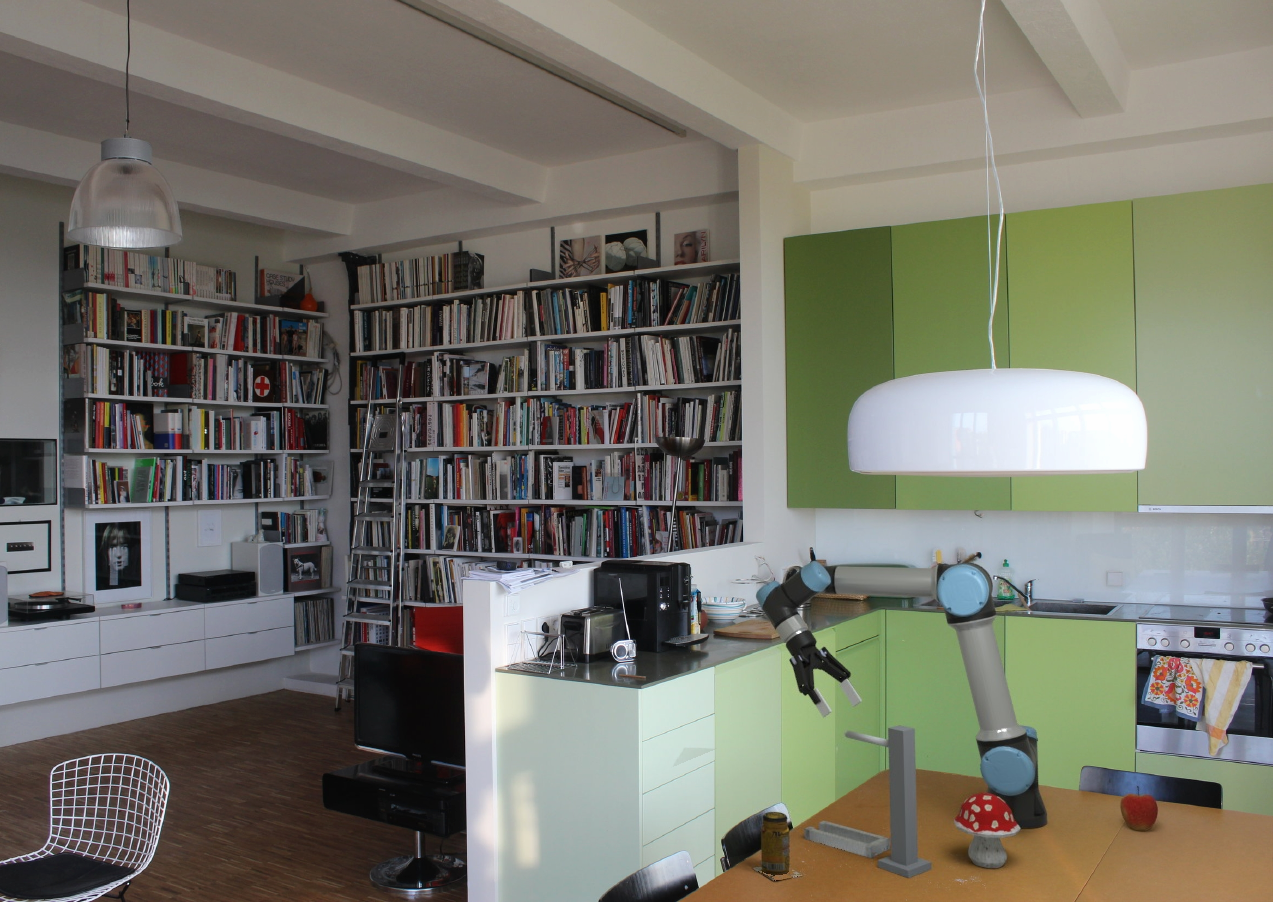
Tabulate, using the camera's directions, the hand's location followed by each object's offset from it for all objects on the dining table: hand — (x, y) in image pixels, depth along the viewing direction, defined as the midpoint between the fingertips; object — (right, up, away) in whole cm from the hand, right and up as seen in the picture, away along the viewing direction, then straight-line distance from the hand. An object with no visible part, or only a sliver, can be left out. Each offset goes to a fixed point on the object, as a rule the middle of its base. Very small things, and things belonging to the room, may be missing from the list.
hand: (843, 709), depth 245 cm
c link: (-9, -26, -9) cm, 29 cm away
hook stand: (+3, -27, -27) cm, 38 cm away
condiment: (-21, -27, -33) cm, 47 cm away
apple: (+70, -27, -8) cm, 75 cm away
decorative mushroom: (+26, -26, -29) cm, 47 cm away
